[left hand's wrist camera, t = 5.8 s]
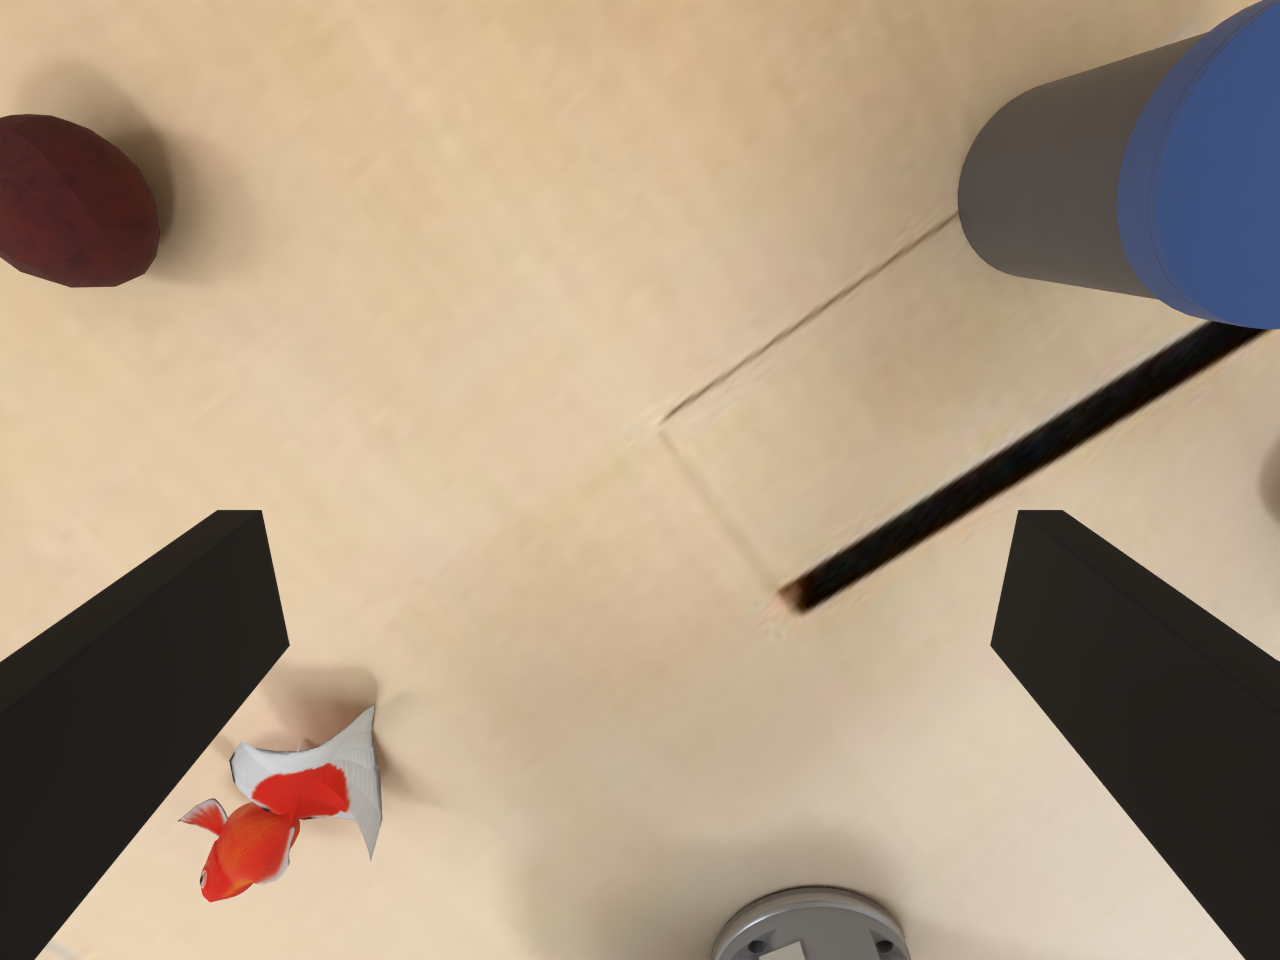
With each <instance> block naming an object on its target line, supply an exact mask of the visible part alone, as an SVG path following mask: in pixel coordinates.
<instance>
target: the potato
mask: <svg viewBox="0 0 1280 960" xmlns="http://www.w3.org/2000/svg"><path fill="white" fill-rule="evenodd" d="M159 236H160V230H159V224H158V218H157V213H156V207H155V202H154V198H153V196H152V194H151V192H150V190H149V188H148V186H147V184H146V182H145V180H144V178H143V176H142V174H141V172H140V170H139V168H138V167H137V166H136V165H135V164H134V163H133V162H132V161H131V160H130V159H129V158H128V157H127V156H126V155H125V154H124V153H123V152H122V151H121V150H120V149H118V148H117V147H115V146H114V145H112V144H111V143H109V142H108V141H106V140H105V139H103V138H102V137H100V136H99V135H97V134H96V133H94V132H93V131H91V130H90V129H88V128H85V127H82V126H80V125H77V124H75V123H72V122H69V121H67V120H63V119H60V118H57V117H54V116H49V115H34V114H23V115H10V116H6V117H2V118H0V257H1V258H2V259H4V260H5V261H6V262H8V263H9V264H11V265H12V266H13V267H15V268H16V269H17V270H19V271H20V272H23V273H26V274H29V275H33V276H36V277H39V278H42V279H46V280H49V281H52V282H55V283H58V284H62V285H65V286H68V287H116V286H118V285H120V284H123V283H125V282H127V281H130V280H132V279H134V278H136V277H138V276H141V275H143V274H145V272H146V271H147V269H148V268H149V266H150V265H151V263H152V262H153V260H154V259H155V257H156V254H157V248H158V242H159Z"/></svg>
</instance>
